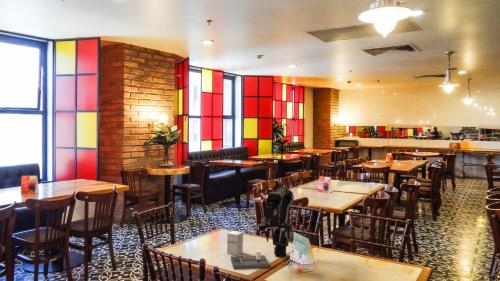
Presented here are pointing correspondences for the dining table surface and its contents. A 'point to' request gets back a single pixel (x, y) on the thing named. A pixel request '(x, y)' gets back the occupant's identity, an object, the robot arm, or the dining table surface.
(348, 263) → the dining table surface
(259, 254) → the fader tab
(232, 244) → the supplement box
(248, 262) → the console
